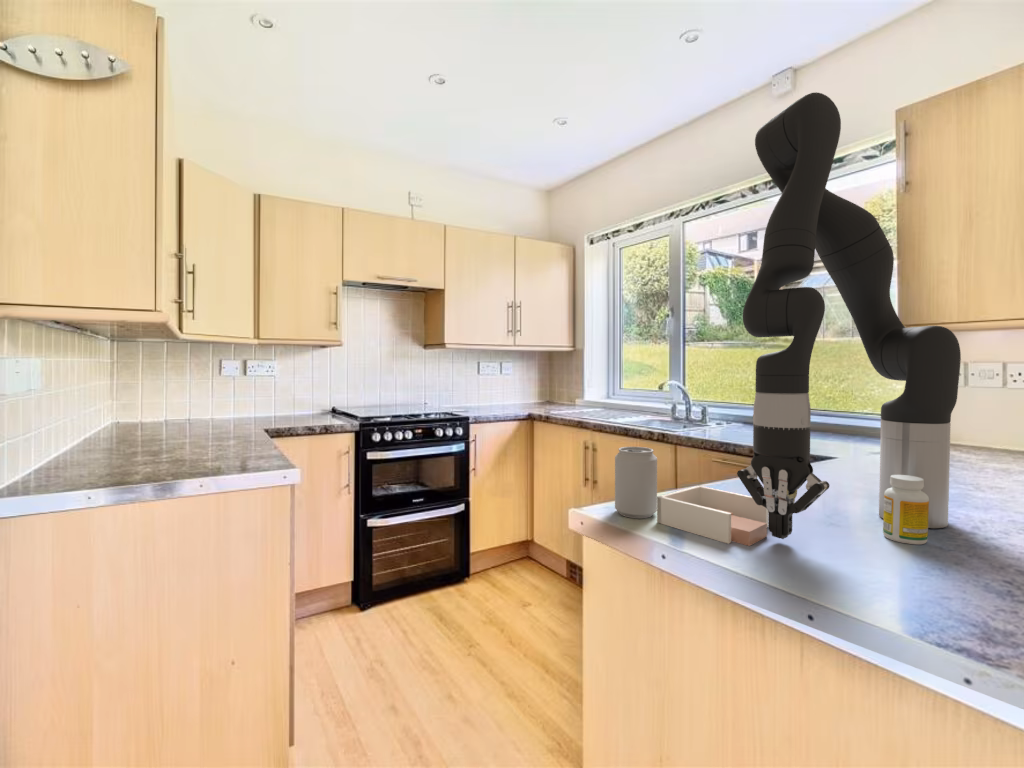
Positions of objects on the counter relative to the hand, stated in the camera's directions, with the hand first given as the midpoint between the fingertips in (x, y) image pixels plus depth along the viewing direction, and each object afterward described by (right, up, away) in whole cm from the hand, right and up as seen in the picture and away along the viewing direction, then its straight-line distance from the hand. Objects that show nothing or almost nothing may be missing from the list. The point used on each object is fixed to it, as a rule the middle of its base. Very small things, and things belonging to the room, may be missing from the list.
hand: (779, 536), depth 74 cm
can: (-18, -1, +15) cm, 24 cm away
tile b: (-5, -1, +3) cm, 6 cm away
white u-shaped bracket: (-7, -1, +9) cm, 11 cm away
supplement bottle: (+20, -1, +1) cm, 20 cm away
